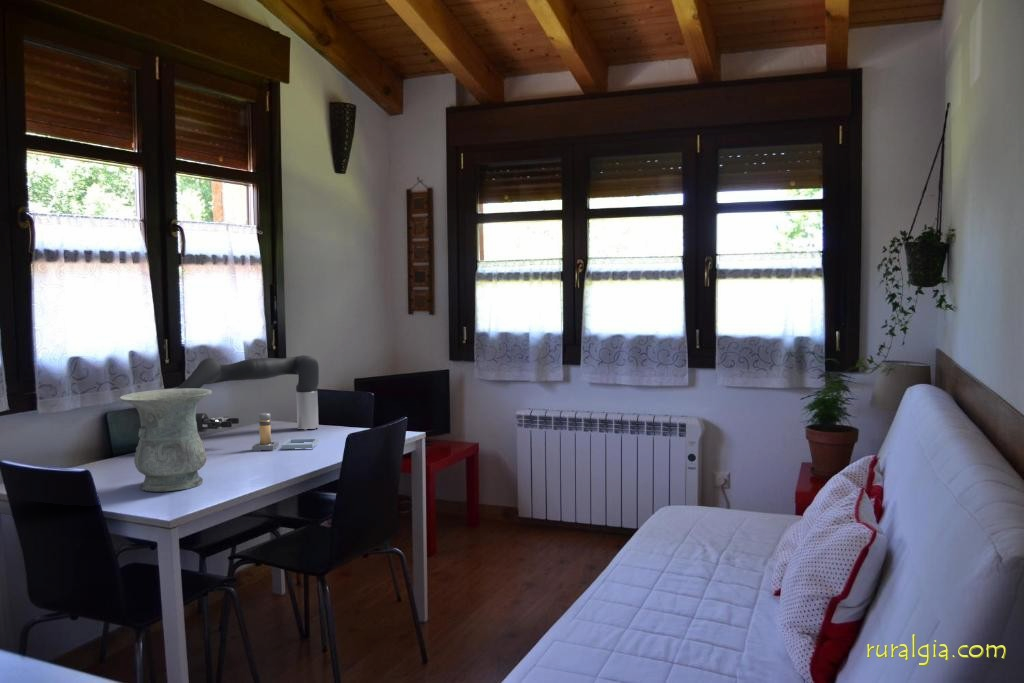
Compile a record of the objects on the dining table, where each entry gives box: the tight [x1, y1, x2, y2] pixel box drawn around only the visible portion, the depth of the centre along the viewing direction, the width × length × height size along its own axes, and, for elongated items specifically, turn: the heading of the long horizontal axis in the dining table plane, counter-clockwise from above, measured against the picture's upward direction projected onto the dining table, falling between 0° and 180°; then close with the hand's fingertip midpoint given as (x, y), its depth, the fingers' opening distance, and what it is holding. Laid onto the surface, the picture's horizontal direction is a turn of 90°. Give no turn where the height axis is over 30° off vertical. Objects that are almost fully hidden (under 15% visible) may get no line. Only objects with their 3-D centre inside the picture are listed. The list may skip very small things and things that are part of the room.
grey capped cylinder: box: [257, 412, 272, 446], centre depth 300 cm, size 5×5×14 cm
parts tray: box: [281, 437, 320, 450], centre depth 303 cm, size 12×12×2 cm
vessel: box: [119, 388, 213, 493], centre depth 244 cm, size 27×27×30 cm
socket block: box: [251, 441, 280, 452], centre depth 300 cm, size 8×8×2 cm
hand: (235, 422), depth 299 cm, fingers open, 8 cm apart
